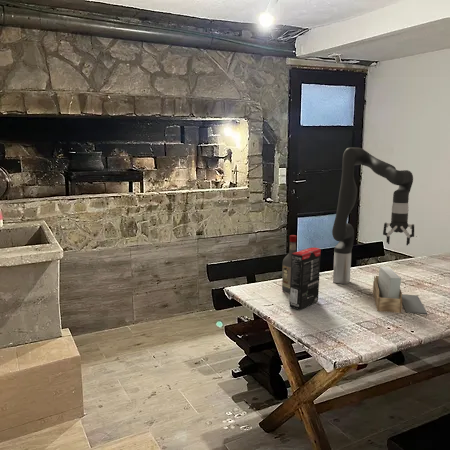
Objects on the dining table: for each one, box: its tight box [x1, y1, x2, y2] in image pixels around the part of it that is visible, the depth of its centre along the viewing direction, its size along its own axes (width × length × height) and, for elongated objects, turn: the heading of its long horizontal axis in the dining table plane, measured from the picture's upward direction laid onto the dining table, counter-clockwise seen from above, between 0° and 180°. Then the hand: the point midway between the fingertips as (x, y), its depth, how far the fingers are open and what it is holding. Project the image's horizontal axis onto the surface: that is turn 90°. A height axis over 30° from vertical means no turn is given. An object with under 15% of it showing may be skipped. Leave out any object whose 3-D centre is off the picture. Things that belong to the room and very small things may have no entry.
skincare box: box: [378, 265, 402, 299], centre depth 222 cm, size 21×5×16 cm, turn 175°
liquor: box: [281, 234, 298, 294], centre depth 239 cm, size 9×9×30 cm
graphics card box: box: [288, 247, 322, 311], centre depth 218 cm, size 17×7×27 cm, turn 139°
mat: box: [402, 293, 428, 315], centre depth 220 cm, size 9×25×1 cm, turn 167°
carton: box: [372, 275, 403, 314], centre depth 222 cm, size 11×27×10 cm, turn 167°
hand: (397, 244), depth 222 cm, fingers open, 8 cm apart
